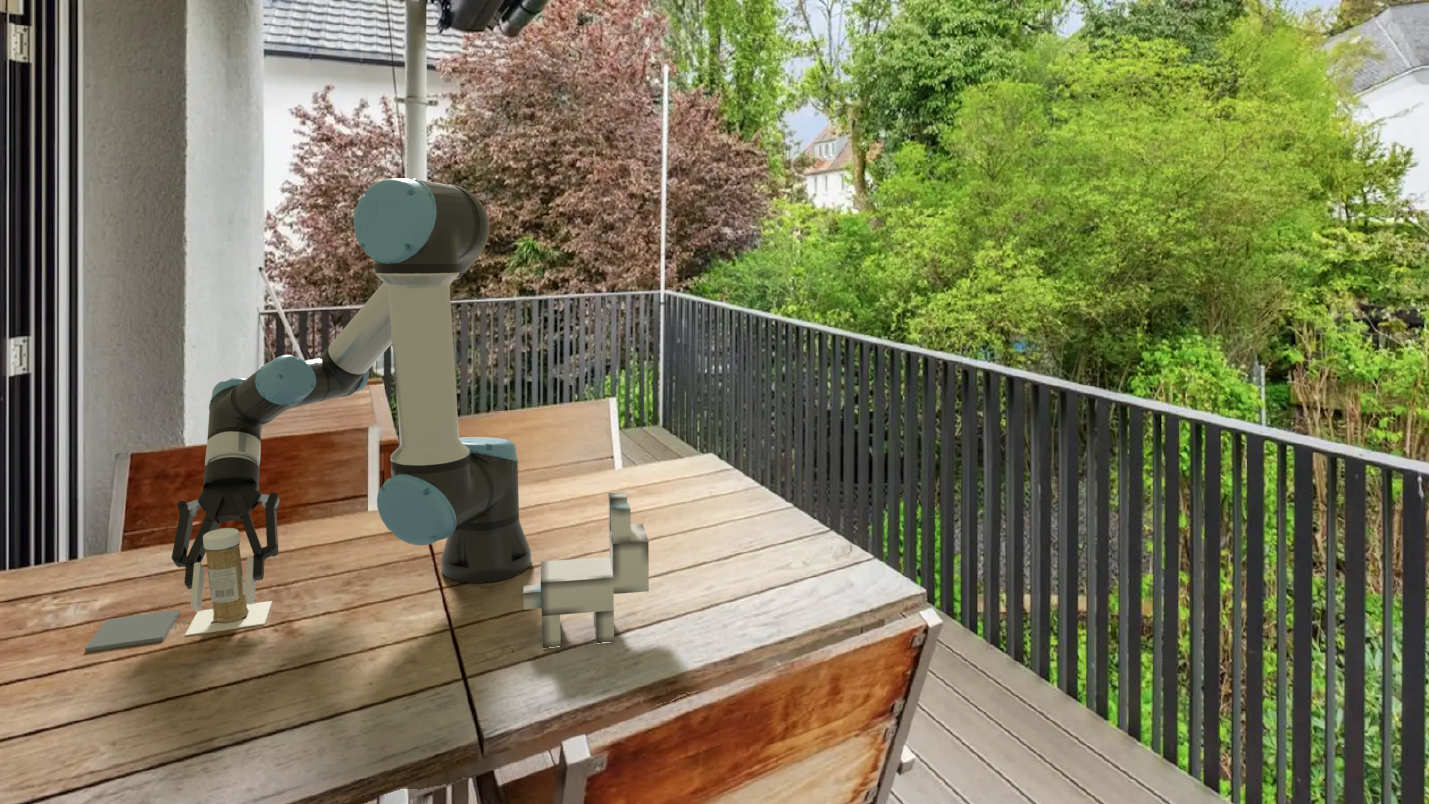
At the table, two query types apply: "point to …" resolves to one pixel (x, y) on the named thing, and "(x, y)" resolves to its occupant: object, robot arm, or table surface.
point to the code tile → (206, 623)
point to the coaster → (133, 630)
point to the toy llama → (593, 578)
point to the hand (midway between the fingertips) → (223, 604)
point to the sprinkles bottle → (225, 574)
